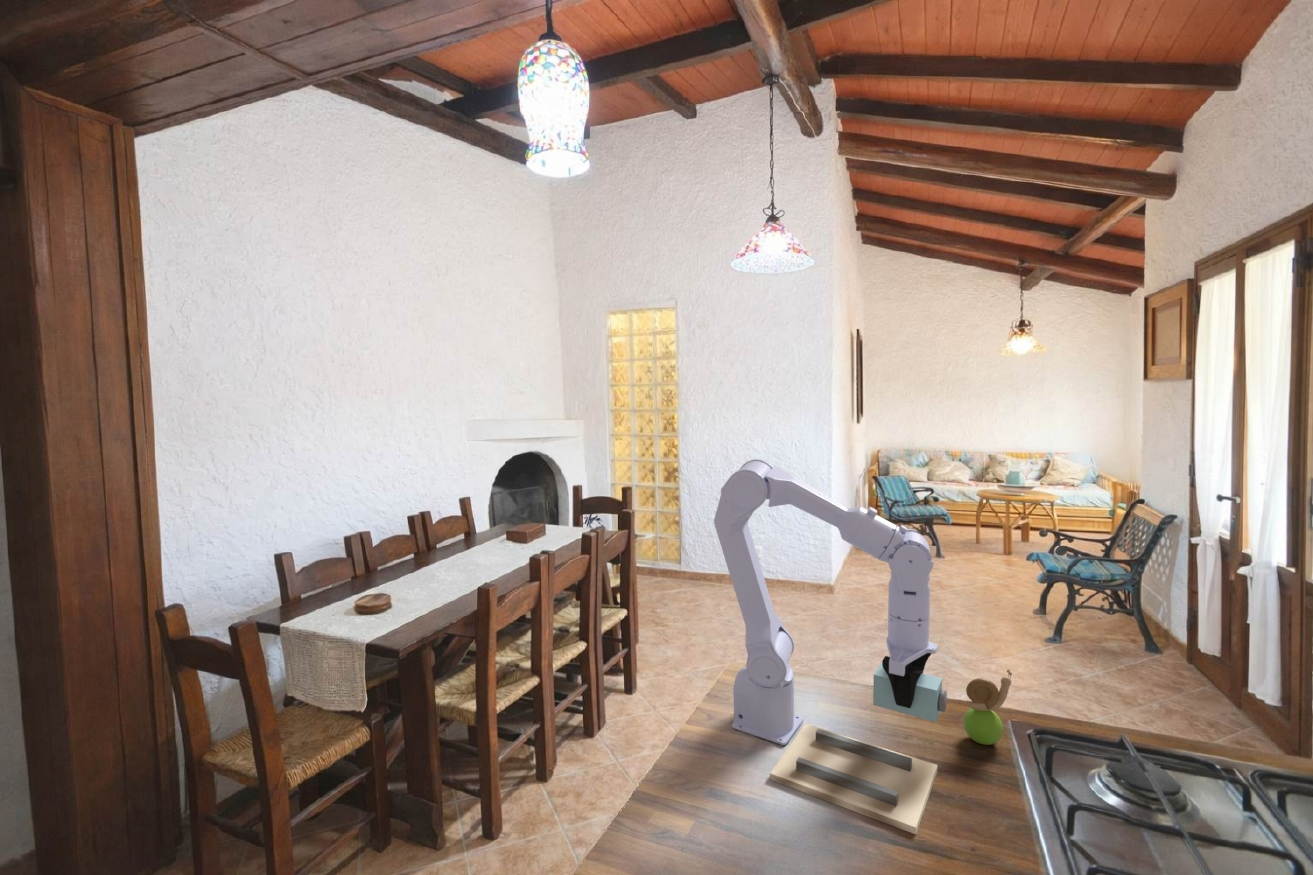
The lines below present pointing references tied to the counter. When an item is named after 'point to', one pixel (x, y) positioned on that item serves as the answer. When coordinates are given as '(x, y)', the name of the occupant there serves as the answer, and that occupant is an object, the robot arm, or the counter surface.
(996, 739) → the snail figurine
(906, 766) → the jig board
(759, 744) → the counter surface
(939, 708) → the pale blue tall carton
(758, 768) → the counter surface
